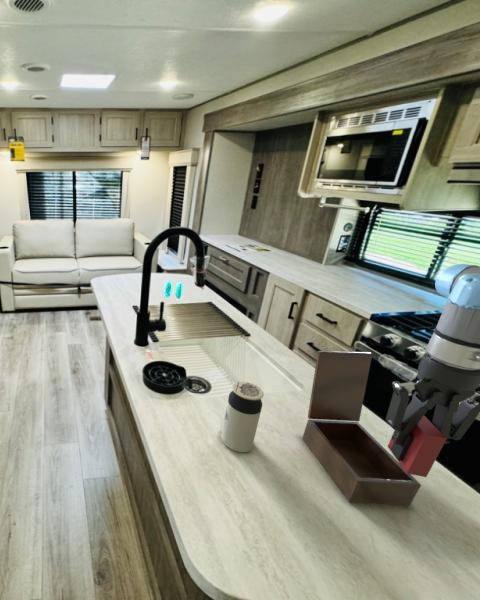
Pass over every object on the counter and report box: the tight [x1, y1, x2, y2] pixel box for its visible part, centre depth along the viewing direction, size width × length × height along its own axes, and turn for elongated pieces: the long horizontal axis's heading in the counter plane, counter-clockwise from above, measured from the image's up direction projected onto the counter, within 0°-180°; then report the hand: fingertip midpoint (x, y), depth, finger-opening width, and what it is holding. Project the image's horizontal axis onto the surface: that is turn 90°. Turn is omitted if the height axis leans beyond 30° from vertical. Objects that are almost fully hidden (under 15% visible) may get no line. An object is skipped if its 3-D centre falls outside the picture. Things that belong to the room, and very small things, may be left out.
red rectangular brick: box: [387, 415, 447, 478], centre depth 63 cm, size 3×7×10 cm, turn 162°
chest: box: [302, 419, 422, 507], centre depth 78 cm, size 19×13×7 cm
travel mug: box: [220, 380, 265, 453], centre depth 85 cm, size 8×8×18 cm
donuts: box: [163, 280, 184, 299], centre depth 192 cm, size 10×10×10 cm
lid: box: [307, 350, 373, 422], centre depth 86 cm, size 20×13×6 cm
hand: (407, 457), depth 64 cm, fingers closed on red rectangular brick, 3 cm apart
